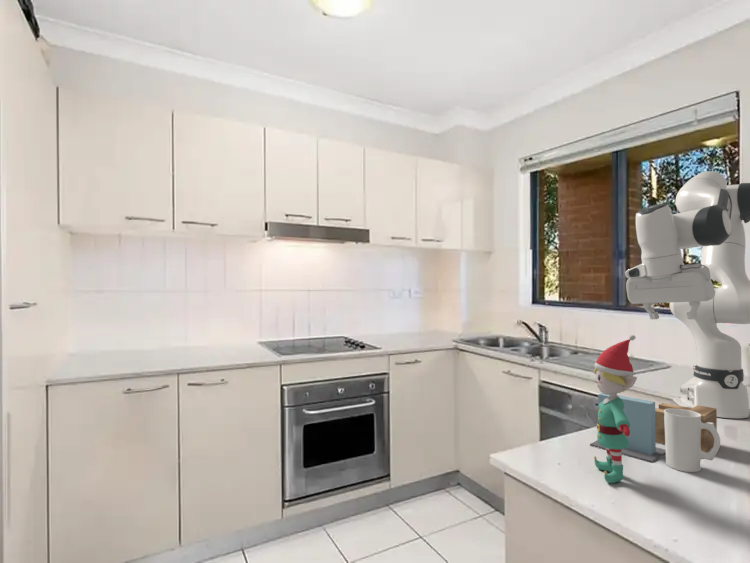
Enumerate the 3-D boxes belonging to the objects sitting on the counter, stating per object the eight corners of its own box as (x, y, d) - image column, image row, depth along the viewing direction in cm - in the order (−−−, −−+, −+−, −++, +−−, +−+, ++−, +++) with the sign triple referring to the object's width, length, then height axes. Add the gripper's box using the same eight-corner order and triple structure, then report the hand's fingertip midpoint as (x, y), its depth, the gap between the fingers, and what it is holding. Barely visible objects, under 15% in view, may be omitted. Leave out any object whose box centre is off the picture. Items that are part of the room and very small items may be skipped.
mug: (661, 466, 98) (660, 412, 99) (668, 458, 103) (667, 406, 103) (718, 480, 91) (717, 422, 91) (722, 470, 96) (722, 415, 96)
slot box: (648, 440, 115) (648, 405, 115) (663, 432, 121) (662, 399, 121) (704, 454, 105) (703, 416, 106) (716, 444, 112) (716, 408, 112)
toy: (586, 459, 103) (584, 330, 103) (623, 462, 101) (622, 330, 101) (608, 494, 86) (606, 339, 86) (653, 497, 84) (651, 340, 84)
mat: (590, 445, 112) (590, 443, 112) (607, 436, 118) (607, 435, 118) (651, 462, 101) (651, 460, 101) (667, 451, 107) (667, 450, 107)
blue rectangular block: (598, 441, 114) (598, 394, 114) (604, 438, 115) (603, 392, 115) (650, 455, 104) (650, 403, 104) (655, 452, 106) (655, 401, 106)
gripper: (714, 260, 107) (725, 316, 108) (633, 268, 126) (642, 316, 126) (700, 264, 105) (711, 321, 105) (619, 272, 123) (628, 321, 123)
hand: (673, 319), depth 115 cm, fingers open, 8 cm apart
